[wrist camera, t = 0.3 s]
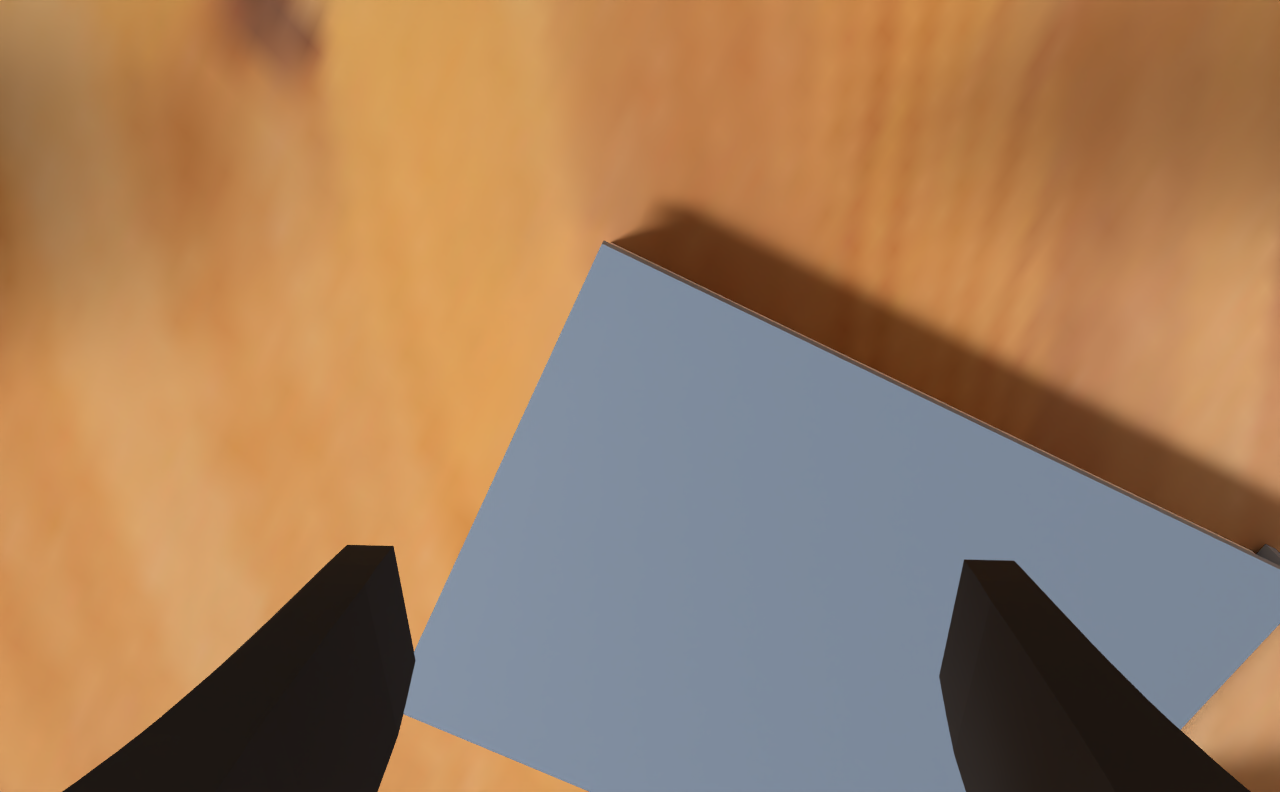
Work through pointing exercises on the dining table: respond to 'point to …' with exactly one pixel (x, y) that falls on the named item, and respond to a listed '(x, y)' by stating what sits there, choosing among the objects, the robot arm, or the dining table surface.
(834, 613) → the book
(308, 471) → the dining table surface
